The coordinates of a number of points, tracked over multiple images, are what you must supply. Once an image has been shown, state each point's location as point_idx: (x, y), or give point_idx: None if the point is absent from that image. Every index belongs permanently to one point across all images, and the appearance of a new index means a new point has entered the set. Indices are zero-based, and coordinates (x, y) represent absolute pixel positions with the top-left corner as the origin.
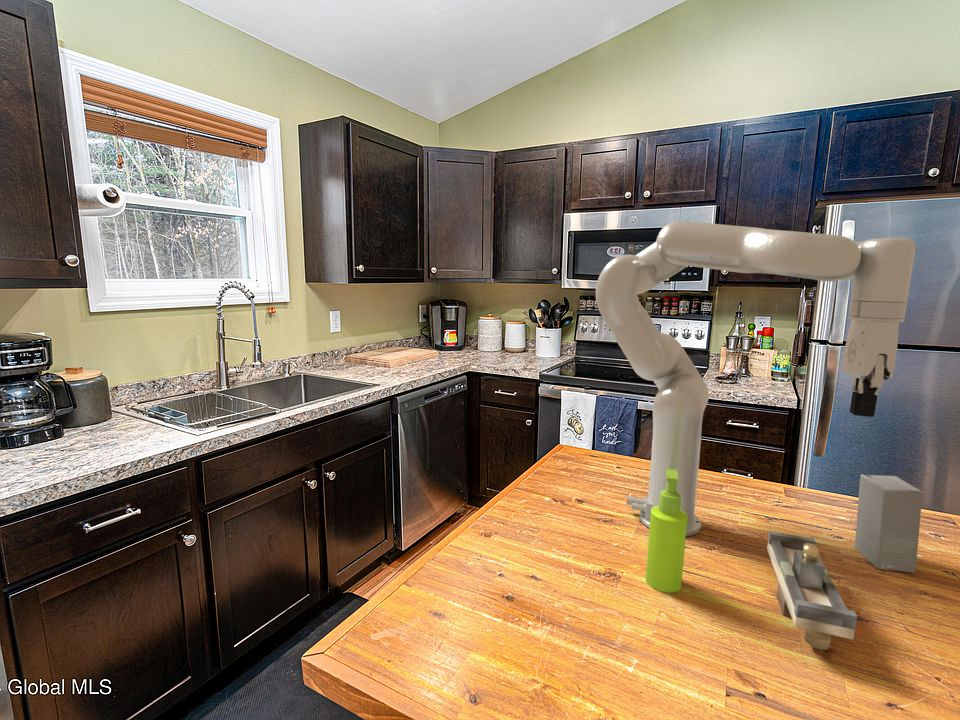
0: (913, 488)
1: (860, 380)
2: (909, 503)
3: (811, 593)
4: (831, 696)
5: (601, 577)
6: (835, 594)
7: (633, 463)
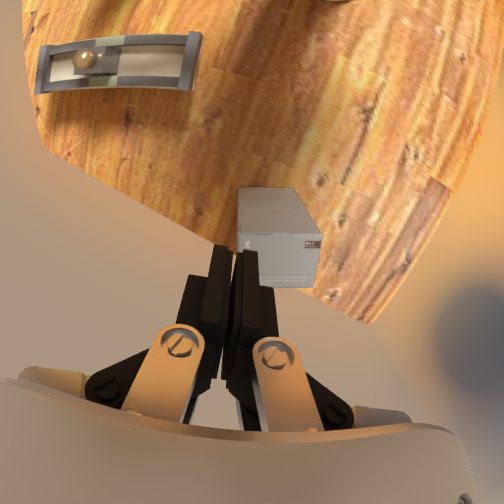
0: None
1: (153, 406)
2: None
3: None
4: None
5: None
6: (70, 84)
7: (493, 24)
